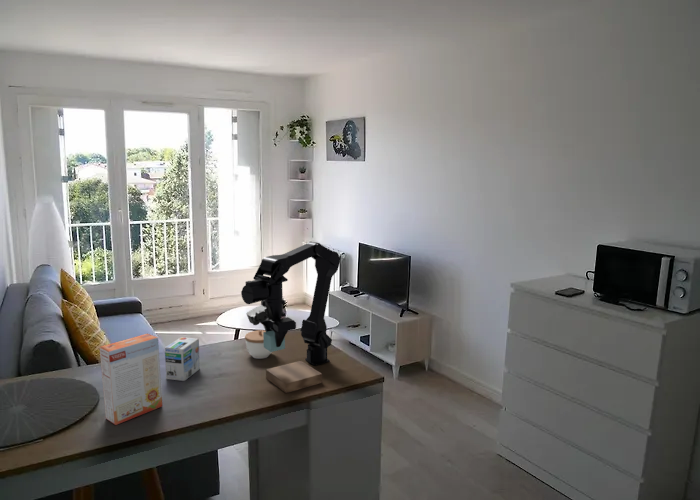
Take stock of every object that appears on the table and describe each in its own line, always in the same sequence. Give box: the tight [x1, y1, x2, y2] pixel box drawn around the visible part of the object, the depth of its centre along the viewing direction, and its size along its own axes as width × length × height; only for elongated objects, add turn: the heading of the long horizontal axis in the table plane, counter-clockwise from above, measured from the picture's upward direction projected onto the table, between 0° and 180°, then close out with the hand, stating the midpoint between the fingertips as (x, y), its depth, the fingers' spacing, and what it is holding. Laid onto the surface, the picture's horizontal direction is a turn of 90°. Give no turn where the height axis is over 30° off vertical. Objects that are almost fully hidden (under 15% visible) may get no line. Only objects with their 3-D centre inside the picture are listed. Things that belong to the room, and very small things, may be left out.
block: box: [263, 331, 286, 352], centre depth 164 cm, size 5×5×5 cm
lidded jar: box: [244, 329, 272, 359], centre depth 185 cm, size 11×11×9 cm
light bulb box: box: [164, 336, 201, 382], centre depth 168 cm, size 11×7×11 cm, turn 168°
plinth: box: [265, 360, 323, 394], centre depth 165 cm, size 13×13×3 cm
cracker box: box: [99, 333, 163, 426], centre depth 141 cm, size 14×6×21 cm, turn 140°
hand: (274, 344), depth 164 cm, fingers closed on block, 5 cm apart
